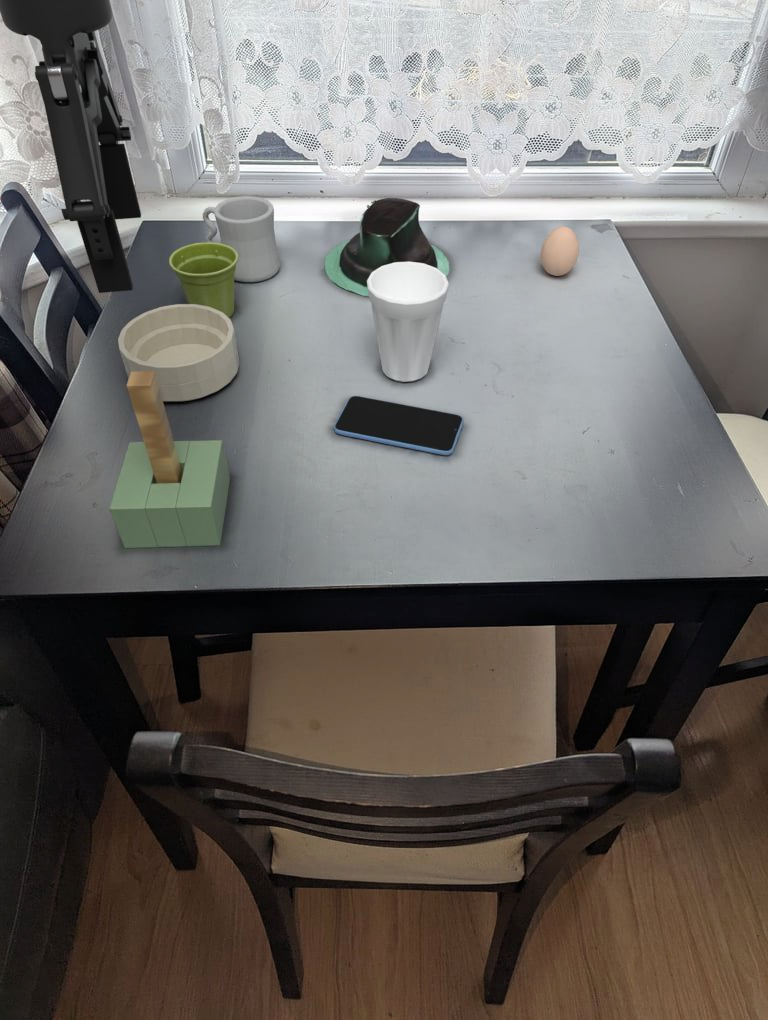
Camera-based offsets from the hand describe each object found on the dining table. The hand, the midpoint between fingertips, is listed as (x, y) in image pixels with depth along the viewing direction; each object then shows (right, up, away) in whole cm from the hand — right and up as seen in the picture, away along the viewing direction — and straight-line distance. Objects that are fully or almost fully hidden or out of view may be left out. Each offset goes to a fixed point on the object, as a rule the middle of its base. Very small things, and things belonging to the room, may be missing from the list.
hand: (121, 251), depth 66 cm
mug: (+1, +15, +51) cm, 53 cm away
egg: (+51, +14, +50) cm, 73 cm away
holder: (+1, -24, +14) cm, 28 cm away
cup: (+26, -5, +33) cm, 42 cm away
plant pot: (-2, +6, +42) cm, 43 cm away
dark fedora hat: (+24, +16, +52) cm, 60 cm away
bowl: (-3, -5, +32) cm, 32 cm away
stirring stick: (+1, -24, +14) cm, 28 cm away
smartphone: (+25, -13, +24) cm, 38 cm away
